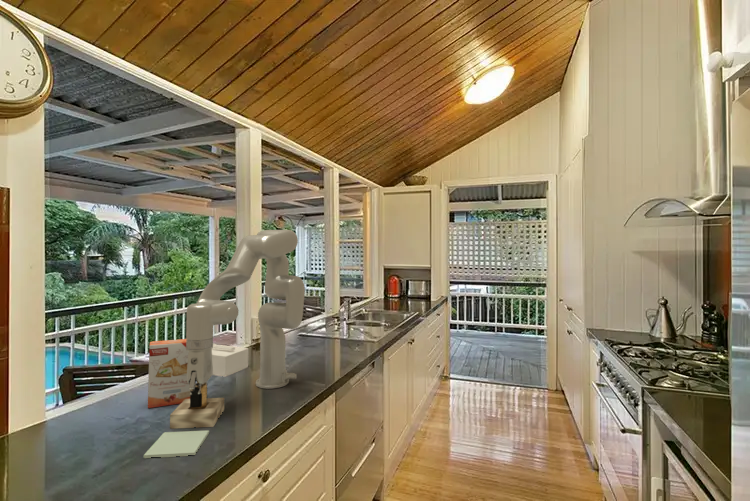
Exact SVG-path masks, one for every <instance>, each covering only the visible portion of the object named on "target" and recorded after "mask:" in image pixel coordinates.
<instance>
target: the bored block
mask: <svg viewBox="0 0 750 501" xmlns="http://www.w3.org/2000/svg"><path fill="white" fill-rule="evenodd" d="M224 411H225V397H207V407H206V408H205V409H191V407H190V399H185V400H184V401H183V402H182V403H181V404H178V406H176V408H175V409H174V410H173V411H172V412H171V413H170V415H169V429H192V428H193V429H195V428H194V427H196V428H214V427H215V425H216V423H217V422H218V421H219V419H218V418H220V417H221V416H220V415H222V414H223V413H224ZM222 412H223V413H222Z"/></svg>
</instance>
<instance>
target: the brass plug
mask: <svg viewBox="0 0 750 501" xmlns="http://www.w3.org/2000/svg"><path fill="white" fill-rule="evenodd" d="M196 387H197V388H198V386H196ZM201 393H202V406H201V407H192V408H191V409H205V408H206V407H207V398H208V384H207V385H206V384H201Z"/></svg>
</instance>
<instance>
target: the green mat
mask: <svg viewBox="0 0 750 501" xmlns="http://www.w3.org/2000/svg"><path fill="white" fill-rule="evenodd" d="M209 434H210V430H209V429H208V430H191V431H190V430H187V431H166V432H162V434H161V435H160V436H159V438H157V439H156V441H155V442H154V443H153V444H152V445H151V446H150V448H148V449H147V451H146V452H145V453H144V454H143V459H152V458H151V457H161V458H176V456H180V457H189V456H188V455H195V456H196V454H197V453H198V451H199V450H200V448H201V447H200V446H202V445H203V443H204V442H205V440H206V439H207V437H208V436H209ZM198 449H199V450H198ZM196 452H197V453H196Z"/></svg>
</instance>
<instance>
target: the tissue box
mask: <svg viewBox="0 0 750 501" xmlns="http://www.w3.org/2000/svg"><path fill="white" fill-rule="evenodd" d="M212 365H213V374H212V376H218V377H222V376H223V377H224V378H226V377H229V376H232V375H233V374H236V373H238V372H240V371H243V370H245V369H248V368H249V348H248V347H241V346H240V347H239V346H233V345H232V346H231V345H221V344H217V343H214V342H213V348H212Z"/></svg>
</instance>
